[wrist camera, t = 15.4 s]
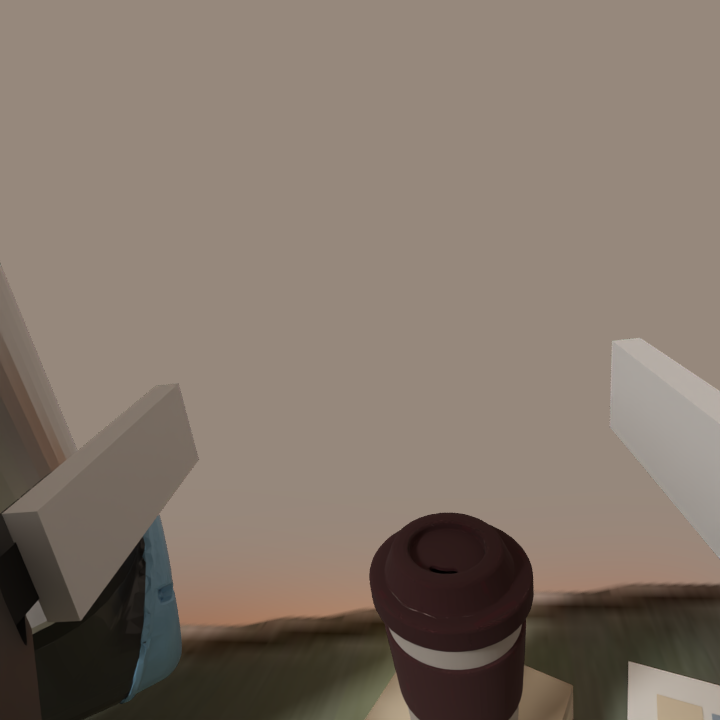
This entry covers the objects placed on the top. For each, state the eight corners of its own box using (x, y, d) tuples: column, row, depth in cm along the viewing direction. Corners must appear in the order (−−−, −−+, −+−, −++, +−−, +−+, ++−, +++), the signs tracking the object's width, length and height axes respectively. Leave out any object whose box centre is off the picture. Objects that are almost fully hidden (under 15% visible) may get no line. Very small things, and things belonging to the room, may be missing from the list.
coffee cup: (457, 638, 42) (442, 481, 38) (568, 723, 35) (566, 540, 30) (365, 719, 37) (334, 548, 32) (473, 843, 29) (452, 641, 25)
